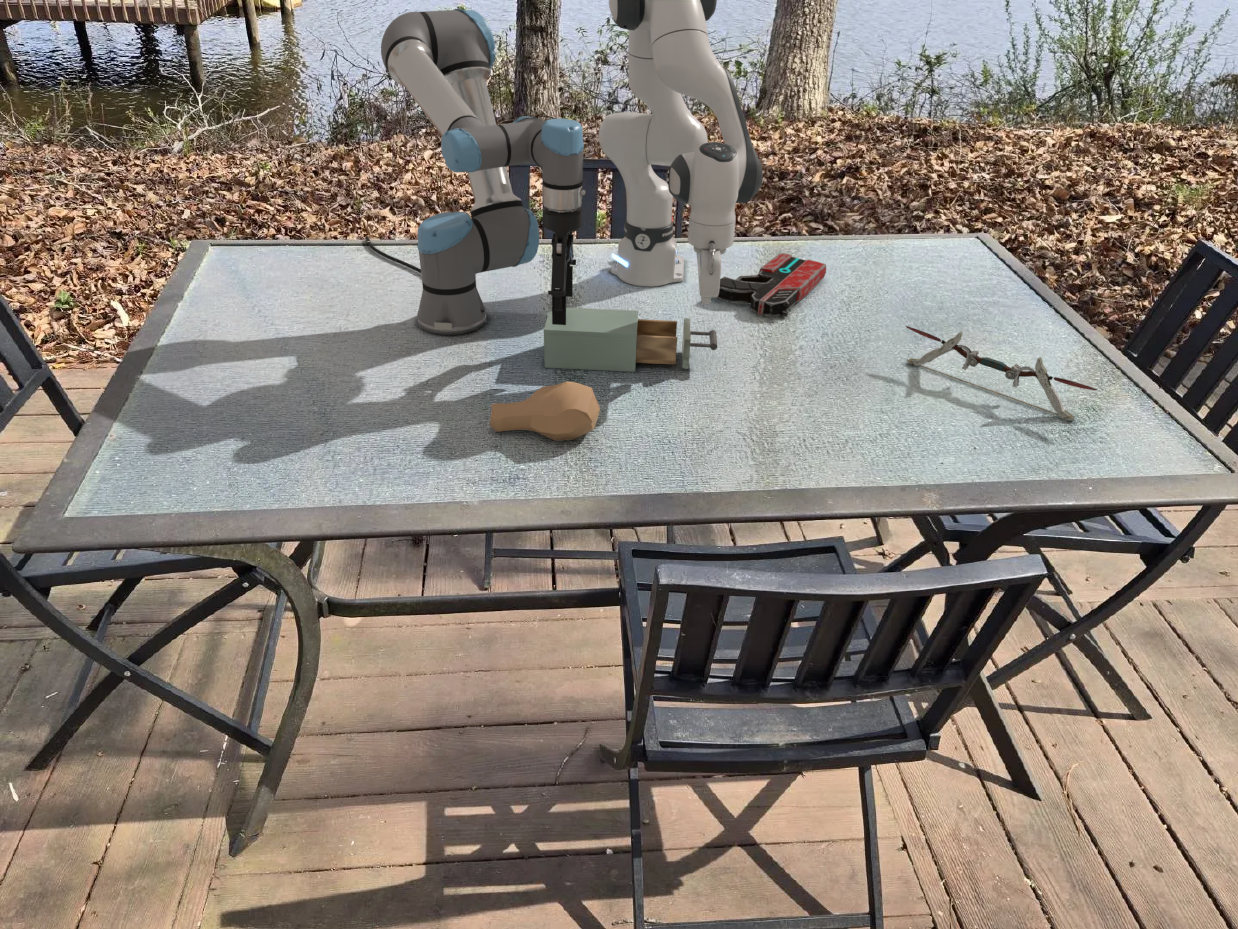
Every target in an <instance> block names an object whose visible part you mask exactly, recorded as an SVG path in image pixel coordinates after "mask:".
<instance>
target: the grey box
mask: <svg viewBox="0 0 1238 929" xmlns="http://www.w3.org/2000/svg"><path fill="white" fill-rule="evenodd" d="M548 310H549V311H548V314H547V317H546V321H545V324H544V328H543V356H544V357H543V358H544V360H543V361H544V368H546V369H567V370H587V371H588V370H589V371H611V372H632V373H633V372H634V373H635V372H636V365H637V363H636V340H637V325H638V319H639V310H630V309H629V310H628V309H607V308H588V307H587V308H585V307H566V325H553V324H552V306H550V307H549V309H548Z"/></svg>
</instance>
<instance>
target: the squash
mask: <svg viewBox="0 0 1238 929" xmlns="http://www.w3.org/2000/svg"><path fill="white" fill-rule="evenodd" d="M490 407H491V408H490V410H491V412H490V419H489V426H490V427H491V428H492V429H493V431H495V433H498V432H499V433H500V432H504V431H519V430H523V431H524V430H525V431H530V432H535V433H537V434H539V435H541V436H542V437H543V436H544V437H546V438H548V439H551V440H553V441H554V442H555V441H556V442H557V441H559V442H560V441H574V440H576V439H577V438H581V437H582V436H584V435H586V434H588V433H590V432H592V431H594V429H595V427H596V425H597V421H598V418H599V415H600V412H601V407H600V405H599V402H598V400H597V398H596V395H595V392H594V389H593V387H590V386H589V385H585V384H582V383H579V382H574V381H568V380H566V381H564V382H560V383H557V384H553V385H546V386H541V387H540V388H538V389H537V390H535V391H534V392H533V393H532V395H531V396H529V397H528V398H526V399H524V400H522V401H516V402H515V401H514V402H508V403H506V402H505V403H504V402H494V403H492V404H491V405H490Z"/></svg>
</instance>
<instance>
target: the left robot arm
mask: <svg viewBox="0 0 1238 929" xmlns="http://www.w3.org/2000/svg"><path fill="white" fill-rule="evenodd" d="M495 49H496V43H495V38H494V34H493V31H492V28H491V26H490V25H489V23H488V21H487V19H486V18H485V17H484V16H483V15H482V14H481V13H480V12H478V11H477V10H473V9H462V8H455V9H446V10H426V11H408V12H404V13H402V14H400V15H398V16H397V17H396V18H394V19H393V20H392V21H391V22H390V23H389V25H388V26H387V27H386V29H385V31H384V33H383V35H382V38H381V43H380V55H381V60H382V63H383V66H384V68H385V71H387V73H388V75H389V76H390V78H392V80H393V81H394V82H395V83H396V84H398V85H400V86H403V87H404V88H405V89H406V90H407V92H408V93H409V94H410V96H411V97H412V98H413V100H414V101H415V103H416V104H417V105H418V106H419V108H420V109H421V111H422V112H423V113H424V114H425V116H426V117H427V119H428V120H429V121H430V122H431V124H432V125H433V126H434V128H435V129H436V130H437V132H438V133H439V134H440V136H441V142H440V146H441V149H440V150H441V154H442V158H443V159H444V163H445V165H446V167H447V168H448V169H449V170H450V171H451V172H453V173H455V174H456V173H467V176H468V180H469V183H470V189H471V192H472V196H473V200H474V203H473V205H472V207H471V209H470V211H469V212H470V215H469V213H466V212H463V211H453V212H452V211H446V212H440V213H437V214H434V215H432V216H429V217H427V218H426V219H424V220H423V221H422V222H421V223H420V224H419V226H418V227H417V245H416V246H417V247H416V248H417V251H418V258H419V267H420V268H419V267H417V266H416V265H413V264H410V263H408V262H406V261H404V260H401V259H399V258H396V257H394V256H391V255H389V254H387V253H385V252H383V251H381V250H380V249H378V248H377V247H376V246H374V245H373V244H372V242H371V240H370V237H369V236H368V235H367V236H365V237H364V239H365V241H366V243H367V246H368V247H369V248H370V249H371V250H372V251H374V253H376V254H378V255H379V256H382V257H383V258H386V259H388V260H389V261H392V262H395V263H397V264H399V265H401V266H404V267H407V268H409V269H411V270H413V271H416V272H417V273H418V274H420V275H421V276H420V278H421V284H422V292H421V297H420V302H419V305H418V310H417V315H416V318H417V325H418V326H419V328H420V329H421V330H423V331H424V332H427V333H430V334H433V335H440V336H459V335H465V334H469V333H473V332H476V331H477V330H480V329H481V328H483V327H484V326H485V325H486V323H487V320H488V316H487V310H486V306H485V304H484V302H483V299H482V298H481V295H480V293H479V291H478V288H477V278H476V277H477V276H476V275H477V274H481V273H486V272H491V271H497V270H502V269H506V268H510V267H511V268H515V267H518V266H521V265H524V264H528V263H530V262H532V261H533V260H534V259H535V257H536V256H537V254H538V249H539V246H540V227H539V222H538V219H537V217H536V216H535V213H534V212H533V211H532V210H531V209H528V208H525V207H524V203H523V201H522V199H521V198H520V197H519V196H517V195H515V194H514V192H513V189H512V184H511V180H510V176H509V171H508V168H507V167H512V166H520V165H527V164H534V165H536V166H539V167H541V172H542V173H541V174H542V183H541V188H542V189H541V193H542V202H541V203H542V206H543V207H542V225H543V227H544V228H545V229H546V230H547V231H551V232H553V233H552V237H551V259H552V261H551V284H550V290H547V295H549V296H551V307H552V324H553V325H566V308H567V298H572V297H573V287H574V286H573V285H574V283H573V282H574V280H573V279H574V277H573V276H574V275H573V274H574V272H573V271H574V266H577V259H574V256H575V255H574V234H573V233H574V232H576V231H578V230H580V229H582V226H583V209H582V208H581V207H582V205H583V196H585V195H586V194H587V193H586V190H585V189H583V180H584V179H583V177H584V148H585V143H584V136H583V135H584V133H583V132H584V130H583V126H582V125H581V123H580V122H579V121H577V120H574V119H569V118H560V117H559V118H550V119H547V120H542V119H540V118H537V117H534V116H529V115H523V116H519V117H517V118H516V119H515V120H514V121H512V122H510V123H501V124H497V122H496V118H495V113H494V109H493V106H492V101H491V97H490V94H489V89H488V85H487V82H488V79H489V77H490V76H491V67H493V66H494V64H495V60H496V54H497V53H496V51H495ZM367 241H370V242H367Z"/></svg>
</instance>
